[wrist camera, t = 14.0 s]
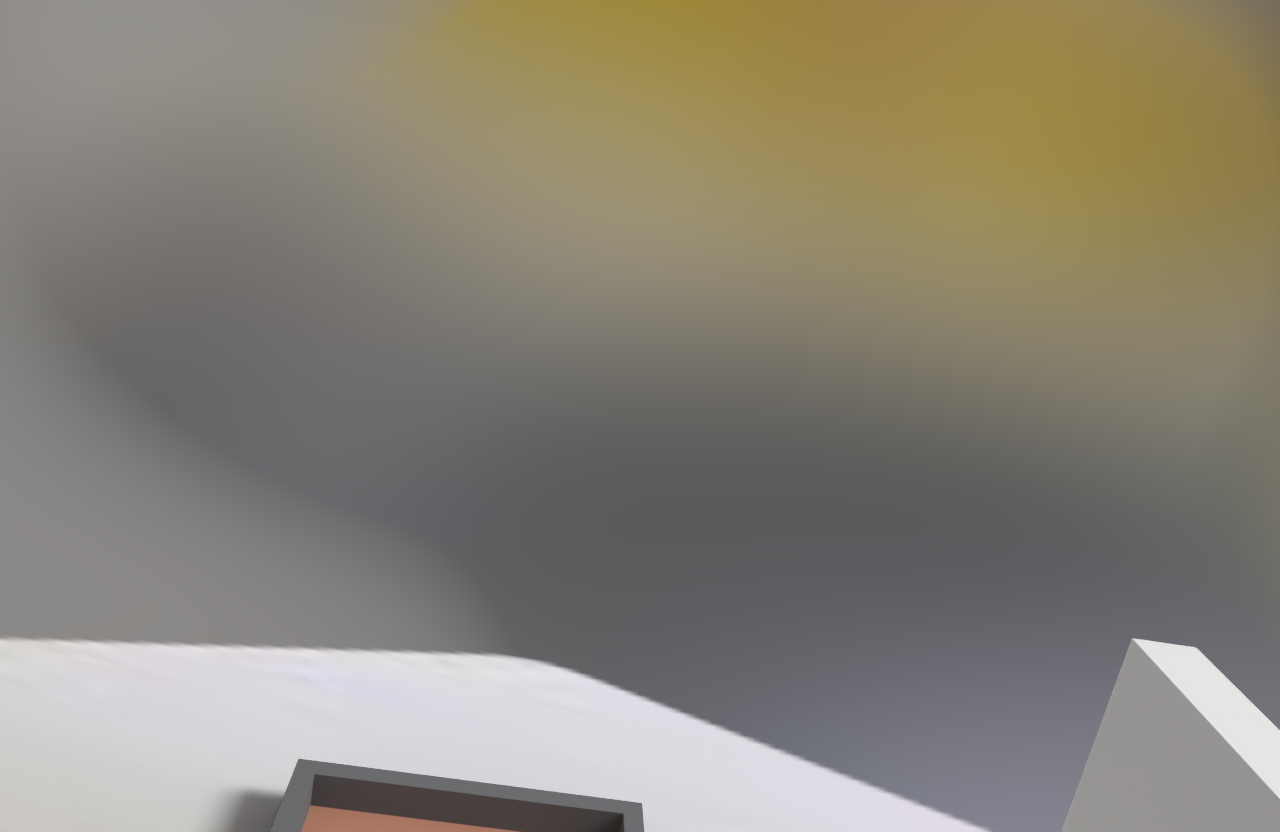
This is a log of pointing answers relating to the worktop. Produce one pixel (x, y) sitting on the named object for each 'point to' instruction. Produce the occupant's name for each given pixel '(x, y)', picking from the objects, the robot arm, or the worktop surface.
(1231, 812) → the robot arm
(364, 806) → the tray
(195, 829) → the worktop surface
